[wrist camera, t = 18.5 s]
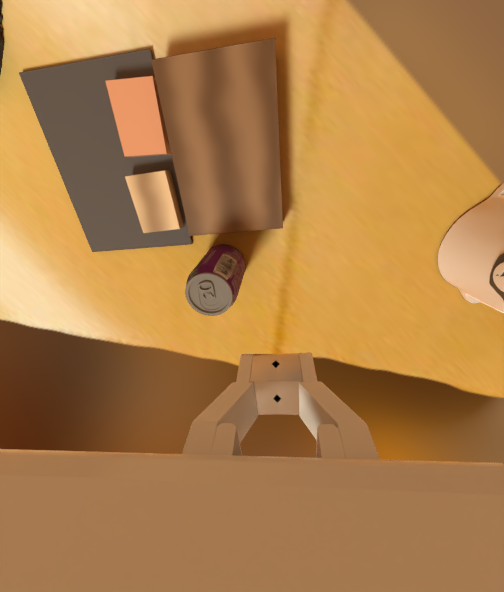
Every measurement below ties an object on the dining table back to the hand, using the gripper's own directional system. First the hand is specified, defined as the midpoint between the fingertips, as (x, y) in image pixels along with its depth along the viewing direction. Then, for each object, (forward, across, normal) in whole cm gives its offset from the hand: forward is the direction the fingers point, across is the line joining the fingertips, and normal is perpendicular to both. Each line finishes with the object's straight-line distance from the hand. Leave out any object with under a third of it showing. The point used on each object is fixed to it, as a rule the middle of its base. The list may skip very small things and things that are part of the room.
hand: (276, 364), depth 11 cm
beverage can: (+31, +9, +6) cm, 33 cm away
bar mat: (+31, +23, -10) cm, 40 cm away
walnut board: (+31, +6, -10) cm, 33 cm away
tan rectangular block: (+30, +18, -5) cm, 36 cm away
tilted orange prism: (+30, +17, -15) cm, 38 cm away
